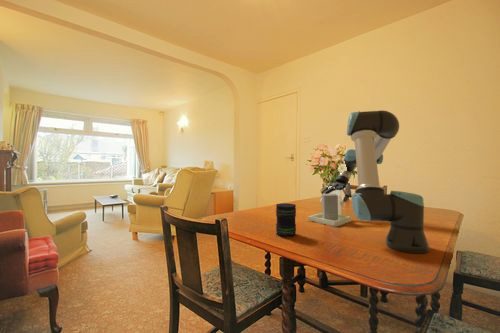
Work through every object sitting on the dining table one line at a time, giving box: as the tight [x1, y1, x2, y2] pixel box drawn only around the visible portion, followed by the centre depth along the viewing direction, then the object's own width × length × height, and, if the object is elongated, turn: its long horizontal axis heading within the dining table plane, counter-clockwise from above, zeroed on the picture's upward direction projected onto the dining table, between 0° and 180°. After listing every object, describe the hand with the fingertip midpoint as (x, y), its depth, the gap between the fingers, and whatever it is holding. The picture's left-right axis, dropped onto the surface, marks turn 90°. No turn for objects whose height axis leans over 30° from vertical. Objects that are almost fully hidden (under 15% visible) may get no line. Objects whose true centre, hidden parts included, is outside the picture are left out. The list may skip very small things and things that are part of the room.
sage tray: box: [307, 212, 352, 228], centre depth 146 cm, size 18×18×3 cm
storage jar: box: [275, 202, 297, 238], centre depth 119 cm, size 10×10×15 cm
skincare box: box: [321, 193, 339, 221], centre depth 146 cm, size 8×7×16 cm
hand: (330, 203), depth 148 cm, fingers open, 13 cm apart
